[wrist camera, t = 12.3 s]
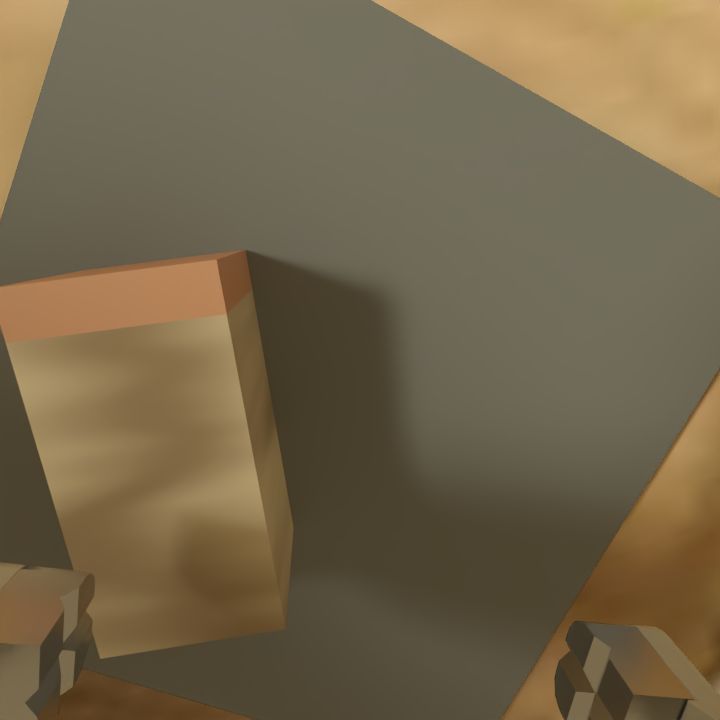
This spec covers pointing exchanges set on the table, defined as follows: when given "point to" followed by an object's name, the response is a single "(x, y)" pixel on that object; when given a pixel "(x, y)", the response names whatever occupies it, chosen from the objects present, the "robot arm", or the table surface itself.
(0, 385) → the rubber mat
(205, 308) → the maple block
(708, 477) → the table surface
